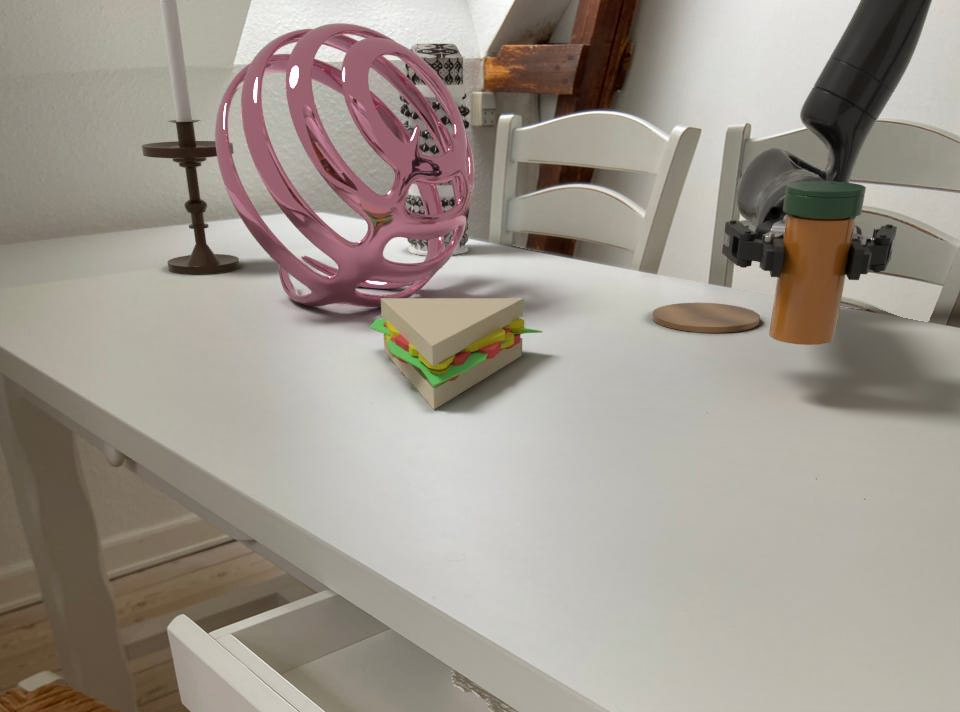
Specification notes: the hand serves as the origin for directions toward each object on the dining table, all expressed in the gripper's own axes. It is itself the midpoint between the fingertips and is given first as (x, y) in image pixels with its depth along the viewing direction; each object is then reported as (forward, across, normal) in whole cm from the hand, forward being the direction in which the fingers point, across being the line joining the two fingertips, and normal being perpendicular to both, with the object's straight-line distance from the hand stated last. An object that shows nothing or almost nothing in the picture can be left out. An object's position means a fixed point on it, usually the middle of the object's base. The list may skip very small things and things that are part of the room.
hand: (817, 264), depth 74 cm
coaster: (-28, -7, +11) cm, 31 cm away
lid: (-3, 0, -5) cm, 5 cm away
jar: (-3, 0, +6) cm, 7 cm away
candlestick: (-46, -71, +12) cm, 85 cm away
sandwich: (-3, -30, +11) cm, 32 cm away
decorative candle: (-63, -44, +12) cm, 78 cm away
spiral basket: (-30, -45, +12) cm, 56 cm away
